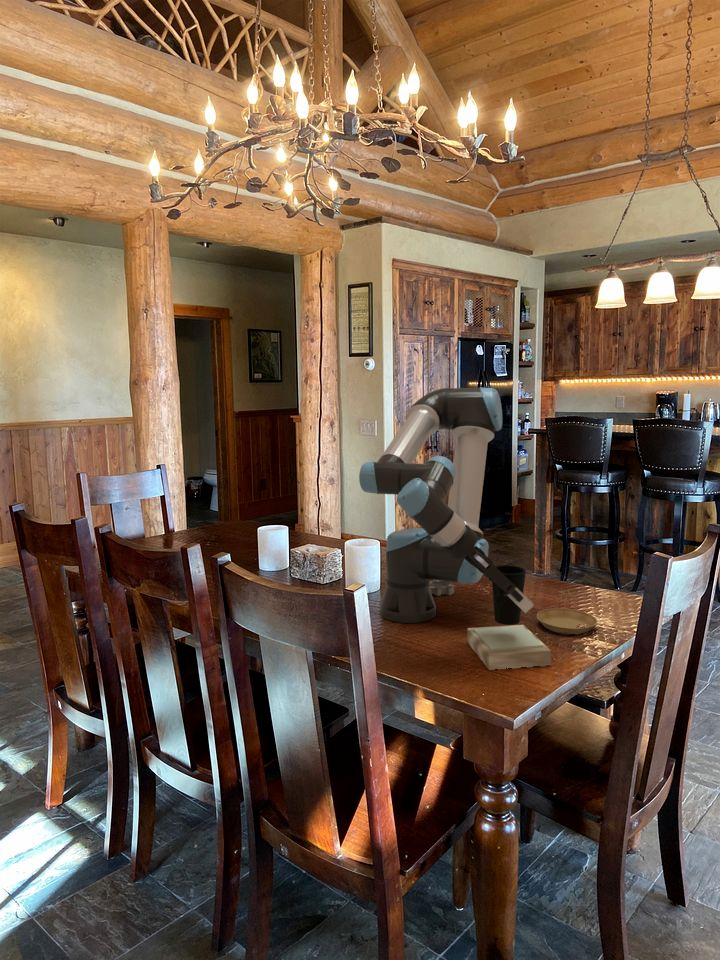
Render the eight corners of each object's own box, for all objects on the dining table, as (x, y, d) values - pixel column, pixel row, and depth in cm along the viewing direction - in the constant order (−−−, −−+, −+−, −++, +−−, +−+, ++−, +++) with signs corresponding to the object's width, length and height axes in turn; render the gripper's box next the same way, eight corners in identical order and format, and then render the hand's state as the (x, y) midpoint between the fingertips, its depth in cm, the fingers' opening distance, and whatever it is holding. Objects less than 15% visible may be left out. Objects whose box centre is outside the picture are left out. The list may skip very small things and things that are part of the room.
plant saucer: (603, 624, 168) (604, 614, 168) (587, 642, 156) (587, 632, 156) (547, 613, 177) (548, 604, 176) (527, 630, 165) (528, 620, 164)
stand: (467, 642, 157) (467, 626, 156) (522, 638, 159) (523, 622, 158) (489, 670, 141) (489, 652, 141) (550, 665, 143) (551, 648, 142)
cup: (521, 615, 152) (523, 565, 150) (526, 627, 144) (528, 574, 143) (488, 614, 153) (489, 564, 151) (491, 626, 145) (492, 573, 144)
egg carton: (449, 588, 200) (450, 576, 199) (456, 596, 192) (456, 583, 192) (415, 590, 199) (415, 577, 198) (421, 598, 191) (421, 584, 191)
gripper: (431, 538, 154) (495, 600, 158) (455, 559, 134) (528, 630, 138) (453, 515, 154) (516, 578, 158) (480, 533, 134) (552, 605, 138)
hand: (522, 602), depth 148 cm, fingers closed on cup, 8 cm apart
